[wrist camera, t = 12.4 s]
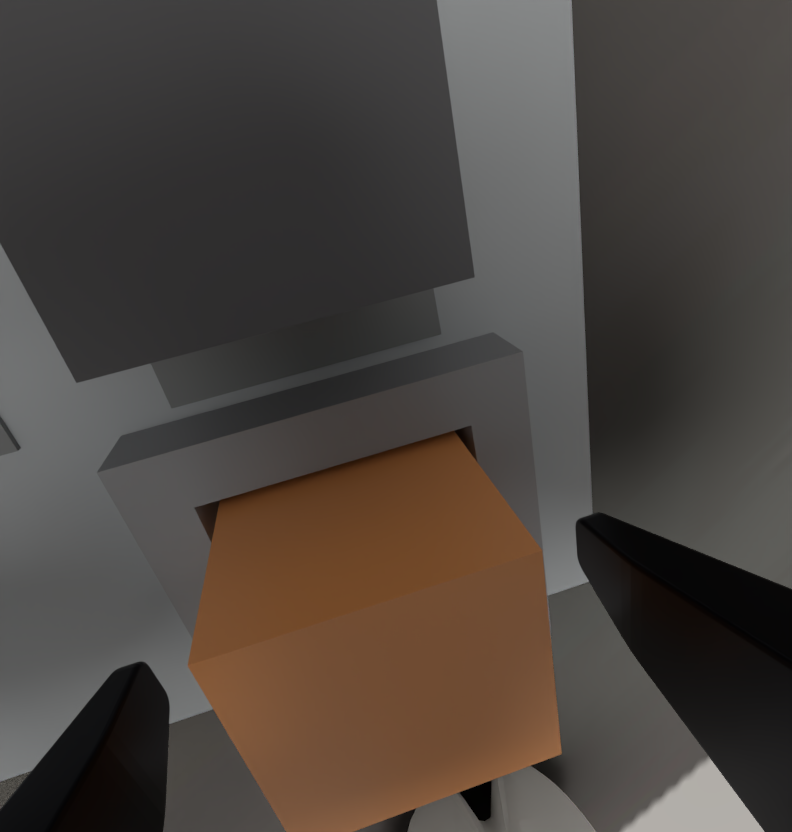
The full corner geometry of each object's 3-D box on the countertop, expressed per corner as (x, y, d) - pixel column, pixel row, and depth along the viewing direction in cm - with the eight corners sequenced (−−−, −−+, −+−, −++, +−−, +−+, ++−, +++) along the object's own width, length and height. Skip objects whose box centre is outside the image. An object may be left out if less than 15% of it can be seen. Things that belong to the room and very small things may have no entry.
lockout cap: (469, 571, 11) (561, 753, 7) (291, 628, 10) (298, 852, 7) (439, 411, 9) (542, 549, 6) (225, 473, 9) (187, 666, 5)
